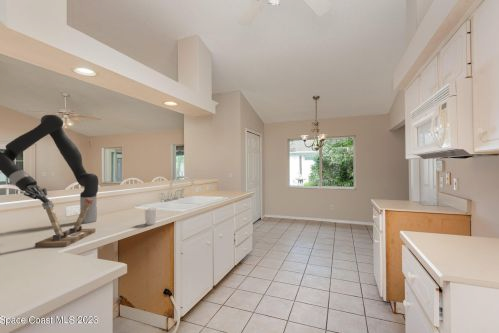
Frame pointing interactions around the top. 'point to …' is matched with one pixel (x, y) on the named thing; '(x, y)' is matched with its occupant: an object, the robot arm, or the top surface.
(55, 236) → the switch board
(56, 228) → the slate lever
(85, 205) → the terracotta lever
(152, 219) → the white cup
